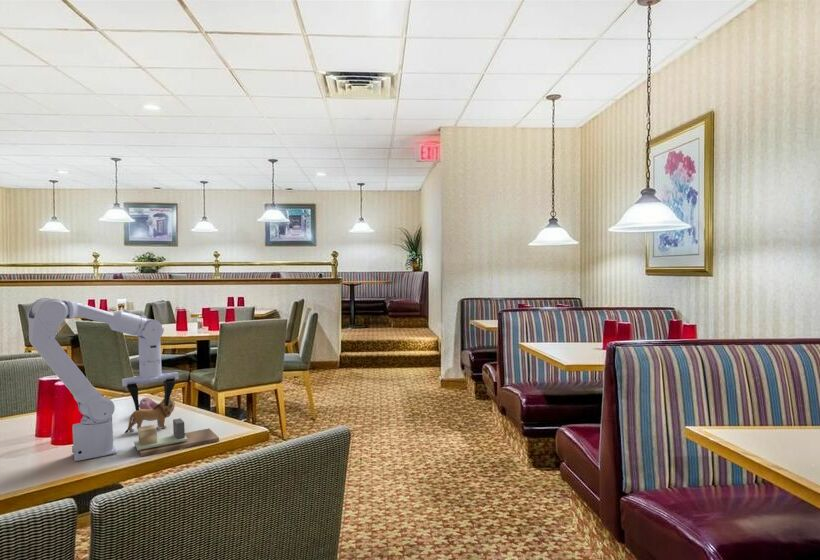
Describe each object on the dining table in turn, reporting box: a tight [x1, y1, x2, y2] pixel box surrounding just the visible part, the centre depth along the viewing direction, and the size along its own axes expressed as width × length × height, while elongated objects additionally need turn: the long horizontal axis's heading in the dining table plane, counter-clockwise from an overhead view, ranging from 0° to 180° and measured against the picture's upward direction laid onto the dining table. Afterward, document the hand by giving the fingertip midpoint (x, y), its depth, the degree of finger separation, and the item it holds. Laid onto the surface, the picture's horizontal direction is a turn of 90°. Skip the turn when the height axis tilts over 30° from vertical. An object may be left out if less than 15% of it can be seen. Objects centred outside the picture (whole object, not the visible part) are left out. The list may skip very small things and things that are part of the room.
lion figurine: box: [124, 396, 176, 434], centre depth 165 cm, size 15×5×9 cm, turn 133°
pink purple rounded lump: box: [139, 396, 159, 409], centre depth 182 cm, size 10×5×7 cm, turn 18°
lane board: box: [137, 428, 220, 458], centre depth 151 cm, size 20×11×1 cm, turn 124°
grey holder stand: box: [133, 417, 188, 451], centre depth 148 cm, size 12×7×5 cm, turn 124°
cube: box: [137, 424, 158, 446], centre depth 146 cm, size 4×4×4 cm
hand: (152, 407), depth 154 cm, fingers open, 7 cm apart
